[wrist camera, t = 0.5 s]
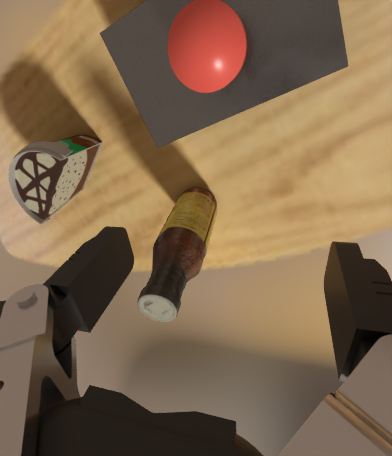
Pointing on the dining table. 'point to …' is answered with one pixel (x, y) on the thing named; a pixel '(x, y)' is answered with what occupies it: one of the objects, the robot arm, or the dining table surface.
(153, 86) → the console
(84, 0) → the dining table surface
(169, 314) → the sauce bottle
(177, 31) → the red button
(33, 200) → the food container
